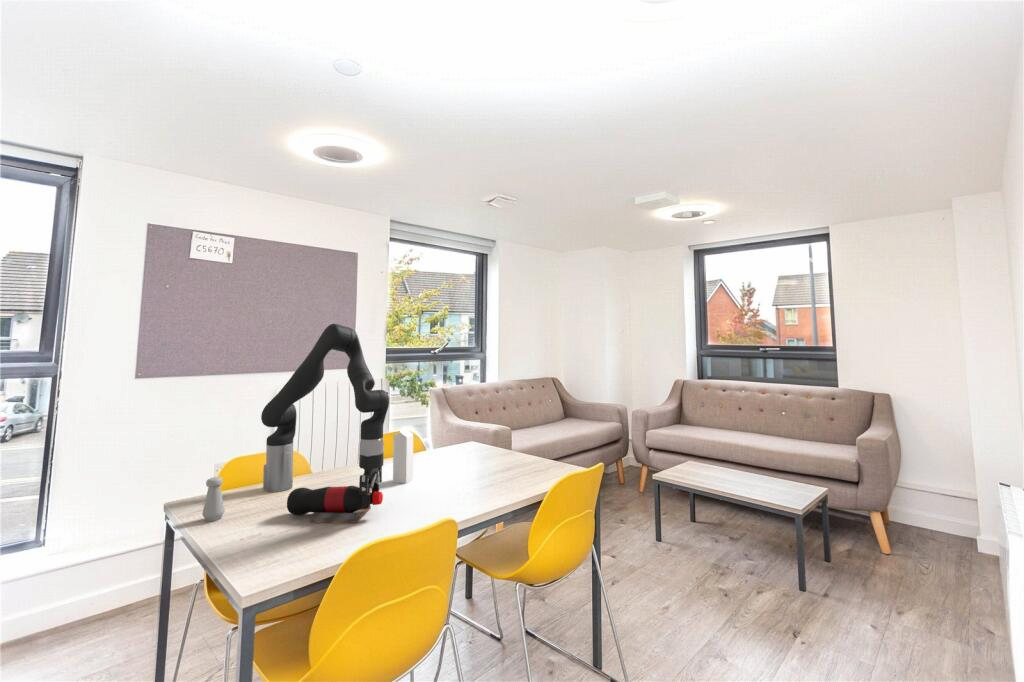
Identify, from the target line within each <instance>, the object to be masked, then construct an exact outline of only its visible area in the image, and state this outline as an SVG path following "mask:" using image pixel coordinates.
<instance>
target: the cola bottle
mask: <svg viewBox="0 0 1024 682" xmlns="http://www.w3.org/2000/svg"><path fill="white" fill-rule="evenodd" d="M383 494H384V493H383V492H382V491H379V492H375V491H374V492H373V493H372V491H370V505H373V506H378V505H381V504H382V503H383V500H384V499H383V498H384V495H383ZM286 508H287V511H288V513H290V514H291V515H294V516H304V515H306V514H310V513H312V514H313V513H314V512H323V513H353V512H355V511H357V510H360V509H361V508H363V507H362V495H359V486H355V485H346V486H341V485H340V486H325V487H320V488H316V489H315V488H314V489H310V488H307V487H297V488H295V489H292V490H291V492H290V493H289V494H288V496H287V499H286Z"/></svg>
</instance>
